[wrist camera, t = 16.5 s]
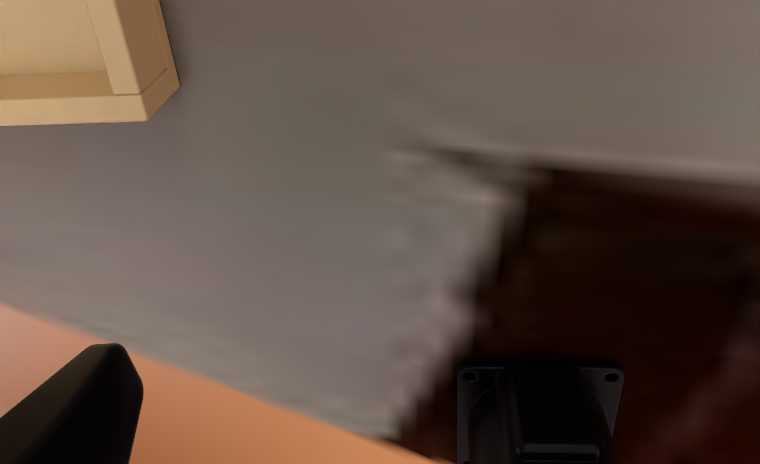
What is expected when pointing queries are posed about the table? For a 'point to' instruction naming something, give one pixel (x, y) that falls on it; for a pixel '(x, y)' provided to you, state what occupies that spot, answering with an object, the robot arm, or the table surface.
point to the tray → (83, 61)
